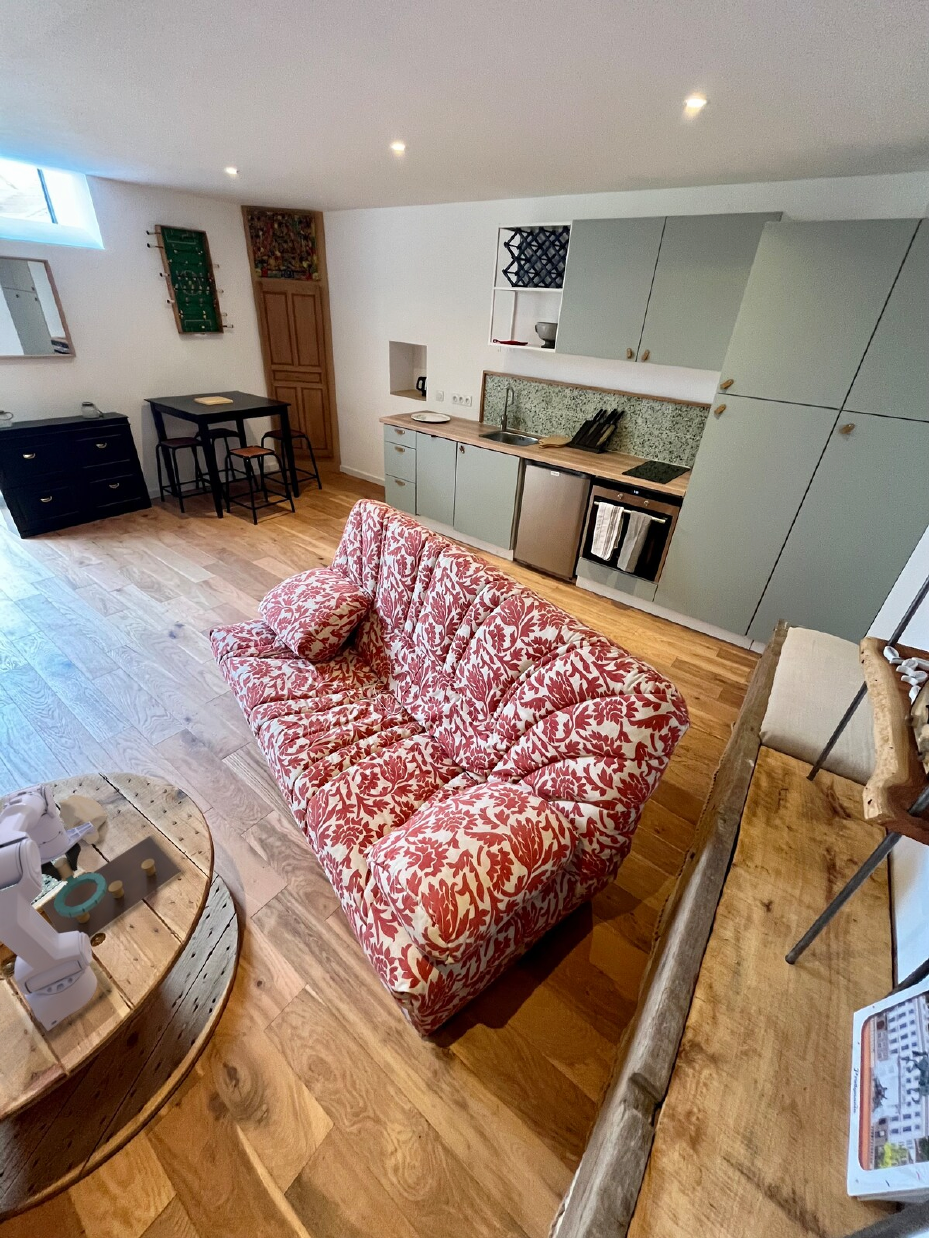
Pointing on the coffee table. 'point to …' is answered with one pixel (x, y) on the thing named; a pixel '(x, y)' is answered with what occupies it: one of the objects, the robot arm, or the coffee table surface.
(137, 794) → the coffee table surface
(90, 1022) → the coffee table surface
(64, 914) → the ring
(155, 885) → the rack
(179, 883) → the coffee table surface
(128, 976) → the coffee table surface
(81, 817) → the decorative stone
